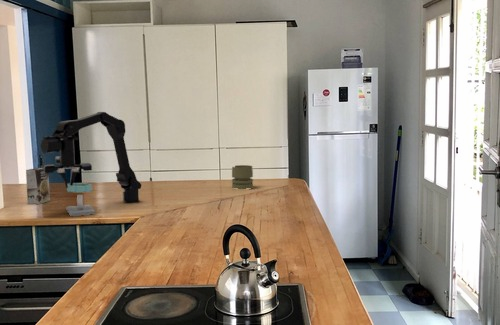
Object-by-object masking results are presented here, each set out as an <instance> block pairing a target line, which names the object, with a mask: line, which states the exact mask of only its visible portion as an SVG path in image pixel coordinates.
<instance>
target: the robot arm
mask: <svg viewBox="0 0 500 325" xmlns="http://www.w3.org/2000/svg"><path fill="white" fill-rule="evenodd" d="M99 123H100V124H101V125H102V126H104V128H106V130H107V134H108V135H109V136H110V137H111V139H112V141H113V146H114V150H115V154H116V159H117V166H118V172H116V173H115V175H116V182H118V184H119V185H120V187H121V189H123V191H122V201H123V202H124V203H127V204H129V203H139V202H140V199H139V190H141V188H142V184H141V182H140V181H139V180H138V179H137V176H136V173H135V172H134V170H133V169H132V168H131V166H130V161H129V156H128V151H127V148H126V147H127V146H126V143H125V135H126V123H125V122H124V120H123V119H118V118H117V117H115V116H112V115H111V114H109V113H108V112H106V111H98V112H96V113H93V114H90V115H86V116H84V117H81V118H77V119H73V120H62V121H59V122H58V123H57V125H56V128H55V130H54V132H52V134H51V136H48V135H47V136H43V137H42V140H41V143H40V149H41V151H42V153H44V154H51V153H59V155H60V156H59V155H58V156H57V155H56V156H55V158H54V159H55V164H45V165H44V166H43V168H44V172H45V173H50V174H53V173H54V172H55V171H56V173H57V175H60V176H61V178H62V180H63V182H64V185H65V188H66V189H67V187H68V185H67V184H68V179H67V175H66V172H65V171H68V170H69V171H70V179H69V180H70V181H69V184H70V185H71V186H72V185H73V183H74V181H75V178H76V176H77V174H80V170H83V171H86V172H87V171H92V169H93V166H92V164H91V163H90V162H81V163H80V164H76V160H75V141H79V138H78V136H76V135H75V134H77V133H78V132H80V130H81V129H83V128H87V127H89V126H92V125H95V124H99ZM56 165H57V166H56Z"/></svg>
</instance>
